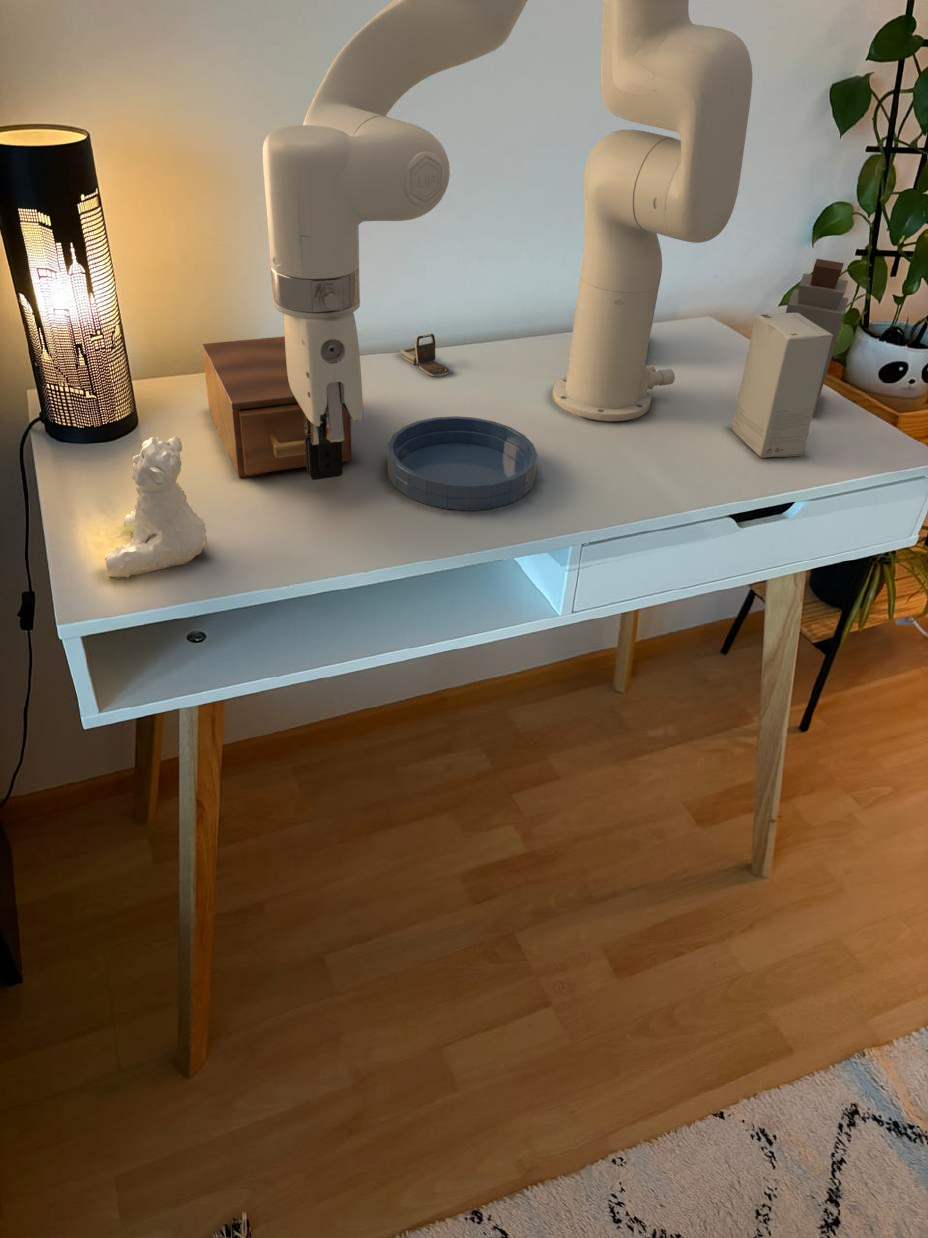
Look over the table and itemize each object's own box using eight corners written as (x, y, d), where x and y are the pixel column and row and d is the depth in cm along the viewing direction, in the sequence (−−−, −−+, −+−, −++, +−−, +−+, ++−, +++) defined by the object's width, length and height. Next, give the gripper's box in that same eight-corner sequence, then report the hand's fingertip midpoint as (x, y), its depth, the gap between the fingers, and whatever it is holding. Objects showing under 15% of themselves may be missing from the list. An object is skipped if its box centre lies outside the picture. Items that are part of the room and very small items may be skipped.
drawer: (361, 479, 102) (360, 420, 98) (255, 494, 98) (250, 434, 94) (311, 402, 116) (309, 348, 112) (217, 413, 112) (211, 358, 108)
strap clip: (398, 356, 132) (398, 325, 129) (417, 352, 133) (417, 322, 131) (432, 378, 126) (433, 347, 124) (451, 373, 128) (452, 343, 125)
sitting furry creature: (130, 524, 94) (110, 411, 87) (218, 528, 94) (206, 416, 87) (102, 579, 86) (78, 461, 79) (199, 583, 87) (183, 465, 79)
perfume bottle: (761, 406, 125) (797, 266, 114) (768, 387, 130) (803, 252, 119) (813, 417, 123) (855, 276, 113) (818, 397, 129) (859, 261, 118)
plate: (497, 433, 114) (499, 409, 112) (559, 500, 103) (562, 473, 101) (368, 451, 109) (368, 425, 107) (417, 523, 97) (418, 496, 95)
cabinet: (351, 462, 107) (350, 389, 101) (238, 477, 102) (231, 403, 97) (311, 401, 119) (309, 333, 113) (209, 412, 114) (201, 343, 109)
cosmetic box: (802, 457, 114) (839, 336, 105) (757, 459, 113) (790, 337, 104) (770, 425, 121) (801, 309, 112) (726, 428, 119) (755, 310, 110)
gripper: (384, 313, 78) (385, 506, 90) (334, 257, 89) (340, 435, 100) (295, 322, 76) (306, 518, 87) (254, 263, 87) (269, 445, 98)
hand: (324, 473), depth 94 cm, fingers closed
